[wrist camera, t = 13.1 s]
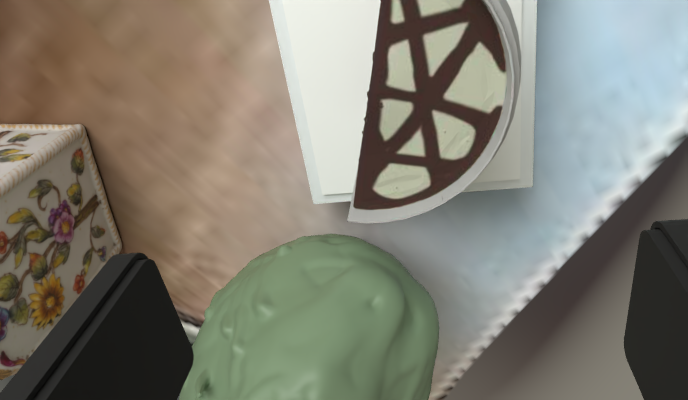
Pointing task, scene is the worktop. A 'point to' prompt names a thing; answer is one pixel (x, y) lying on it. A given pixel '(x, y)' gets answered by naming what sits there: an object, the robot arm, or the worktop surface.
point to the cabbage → (317, 328)
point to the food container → (434, 103)
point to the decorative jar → (47, 232)
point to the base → (353, 84)
